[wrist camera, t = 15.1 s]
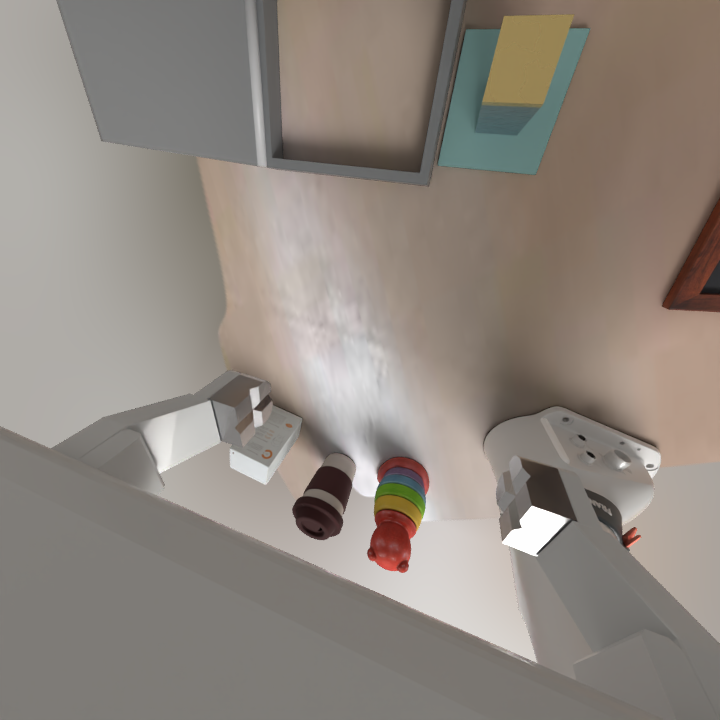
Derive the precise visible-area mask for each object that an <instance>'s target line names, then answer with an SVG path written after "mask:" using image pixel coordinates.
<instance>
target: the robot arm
mask: <svg viewBox="0 0 720 720" xmlns="http://www.w3.org/2000/svg"><path fill="white" fill-rule="evenodd" d="M270 392H271V385H270V383H269V382H268V381H265V380H262V379H259V378H256V377H253V376H250V375H247V374H243V373H240V372H237V371H234V370H229V371H226V372H225V373H224V374H222V375H221V376H219V377H218V378H216V379H215V380H214V381H213V382H211V383H209V384H208V385H207V386H205V387H204V388H203V389H201V390H200V391H198V392H197V393H195V394H194V395H192V394H187V395H183V396H180V397H176V398H173V399H169V400H165V401H162V402H158V403H154V404H151V405H147V406H143V407H139V408H135V409H132V410H128V411H124V412H121V413H117V414H113V415H110V416H106V417H103V418H101V419H100V420H98V421H96V422H95V423H93V424H91V425H89V426H88V427H86V428H85V429H83V430H81V431H79V432H78V433H76V434H75V435H73V436H71V437H69V438H68V439H66V440H64V441H63V442H61V443H59V444H58V445H56V446H54V447H53V448H48V447H46V446H44V445H41V444H39V443H37V442H35V441H32V440H30V439H28V438H25V437H23V436H21V435H19V434H17V433H14V432H12V431H10V430H7V429H5V428H3V427H1V426H0V720H720V643H719V642H717V640H716V639H715V638H713V636H711V634H710V633H709V632H707V630H706V629H705V628H704V627H703V626H701V624H700V623H699V622H697V620H696V619H695V618H694V617H693V616H692V615H691V614H690V613H689V612H688V611H687V610H686V609H685V608H684V607H683V606H682V605H681V604H680V603H679V602H678V601H677V600H676V599H675V598H674V597H673V596H672V595H671V594H670V593H669V592H668V591H667V590H666V589H665V588H664V587H663V586H662V585H661V584H660V583H659V582H658V581H657V580H656V579H655V578H654V577H653V576H652V575H651V574H650V573H649V572H648V571H647V570H646V569H645V568H644V567H643V566H642V565H641V564H640V563H639V562H638V561H637V560H636V559H635V558H634V557H633V556H632V555H631V554H630V553H629V551H630V550H629V547H630V546H631V545H632V544H634V543H635V542H636V541H638V540H639V539H640V538H641V536H640V535H637V536H635V534H636V531H637V528H635V527H634V528H632V529H631V530H629V531H628V532H627V533H626V534H624V535H622V526H623V525H624V524H626V523H628V522H629V521H631V520H632V519H634V518H635V517H637V516H638V515H639V514H640V513H641V512H642V511H644V510H645V508H646V507H647V506H648V505H649V504H650V502H651V501H652V499H653V496H654V490H655V489H654V483H653V481H652V478H653V477H654V475H655V474H656V473H657V471H658V469H659V467H660V463H661V454H660V452H659V451H658V449H657V448H656V447H654V446H652V445H650V444H647V443H645V442H643V441H640V440H638V439H636V438H633V437H631V436H629V435H626V434H624V433H622V432H619V431H617V430H614V429H612V428H610V427H607V426H605V425H603V424H600V423H598V422H596V421H593V420H591V419H589V418H586V417H584V416H582V415H579V414H577V413H575V412H572V411H570V410H568V409H565V408H563V407H558V406H556V407H551V408H548V409H546V410H544V411H542V412H539V413H537V414H535V415H530V416H523V417H518V418H513V419H510V420H507V421H505V422H503V423H501V424H499V425H498V426H496V427H495V428H494V429H492V430H491V431H490V433H489V434H488V435H487V437H486V439H485V442H484V453H485V455H486V458H487V459H488V461H489V463H490V465H491V467H492V470H493V473H494V476H495V479H496V482H497V488H496V499H497V505H498V506H499V510H500V515H501V517H500V518H499V522H500V529H501V536H502V542H503V543H504V544H507V545H509V550H510V556H511V563H512V570H513V576H514V583H515V590H516V596H517V602H518V608H519V611H520V614H521V616H522V618H523V620H524V622H525V624H526V627H527V629H528V633H529V636H530V639H531V643H532V646H533V649H534V653H535V656H536V660H537V663H535V662H533V661H531V660H529V659H526V658H524V657H522V656H520V655H517V654H515V653H513V652H511V651H508V650H506V649H504V648H501V647H499V646H497V645H495V644H492V643H490V642H488V641H486V640H483V639H481V638H479V637H477V636H474V635H472V634H470V633H468V632H465V631H463V630H460V629H458V628H456V627H454V626H451V625H449V624H447V623H445V622H442V621H440V620H438V619H436V618H434V617H431V616H429V615H427V614H424V613H422V612H420V611H418V610H415V609H413V608H411V607H408V606H406V605H404V604H402V603H400V602H397V601H395V600H393V599H391V598H388V597H386V596H384V595H381V594H379V593H377V592H375V591H372V590H370V589H368V588H366V587H363V586H361V585H359V584H357V583H354V582H352V581H350V580H347V579H345V578H343V577H341V576H338V575H336V574H334V573H332V572H329V571H327V570H325V569H322V568H320V567H318V566H316V565H314V564H311V563H309V562H307V561H304V560H302V559H300V558H298V557H295V556H293V555H291V554H289V553H286V552H284V551H282V550H280V549H277V548H275V547H273V546H271V545H268V544H266V543H264V542H261V541H259V540H257V539H255V538H252V537H250V536H248V535H245V534H243V533H241V532H239V531H236V530H234V529H232V528H230V527H227V526H225V525H223V524H221V523H218V522H216V521H214V520H212V519H209V518H207V517H204V516H202V515H200V514H198V513H195V512H193V511H191V510H189V509H187V508H184V507H182V506H180V505H178V504H175V503H173V502H171V501H168V500H166V499H164V498H162V497H159V496H157V495H158V494H159V493H160V492H161V491H162V490H163V489H164V486H165V484H164V482H163V480H162V478H161V476H160V473H161V472H163V471H165V470H167V469H169V468H171V467H173V466H175V465H177V464H179V463H181V462H183V461H185V460H187V459H189V458H190V457H193V456H195V455H197V454H198V453H201V452H202V451H204V450H206V449H208V448H210V447H212V446H214V445H216V444H218V443H220V442H221V441H223V442H226V443H229V444H232V445H235V446H238V447H241V448H243V447H244V446H245V445H246V444H247V443H248V442H249V440H250V439H251V438H252V437H253V436H254V435H255V428H257V427H259V426H262V425H264V423H265V422H266V421H267V420H268V418H269V416H270V414H271V412H272V406H273V404H272V399H271V398H270V396H269V395H268V394H269V393H270ZM565 417H567V418H566V419H563V418H565ZM634 536H635V537H634Z"/></svg>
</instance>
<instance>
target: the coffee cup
mask: <svg viewBox="0 0 720 720" xmlns="http://www.w3.org/2000/svg"><path fill="white" fill-rule="evenodd" d="M355 472H356V466H355V464H354V462H353V461H352V460H351V459H350V458H349V457H347V456H346V455H343V454H340V453H332V454H330V455H328V456H327V458H326V459H325V461H324V463H323V464H322V466H321V467H320V468H319V469H318V470H317V472H316V474H315V475H314V477H313V478H312V480H311V482H310V483H309V485H308V486H307V488H306V490H305V491H304V495H303V497H300V498H299V499H297V501H296V502H295V505H294V506H293V509H292V510H293V515H294V517H295V518H296V525H297V526H298V528H299V529H300V530H301V531H302V532H303V533H304V534H306V535H308V536H309V537H311V538H314V539H318V540H325V539H327V538H329V537H332V536H336V535H337V534H339V533H340V531H341V528H342V525H343V519H342V515H343V514H344V512H345V509H346V505H347V502H348V499H349V495H350V492H351V489H352V482H353V478H354V475H355Z"/></svg>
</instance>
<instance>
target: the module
mask: <svg viewBox="0 0 720 720" xmlns="http://www.w3.org/2000/svg"><path fill="white" fill-rule="evenodd" d="M573 17H574V14H572V15H527V16H504V18H503V22H502V26H501V30H500V34H499V38H498V42H497V45H496V49H495V53H494V57H493V61H492V65H491V69H490V73H489V77H488V81H487V85H486V89H485V93H484V97H483V101H482V105H481V109H480V113H479V118H478V122H477V126H476V130H475V133H484V134H500V135H515V136H517V135H518V133H519V132H520V131H521V130H522V129H523V128H524V126H525V125H526V124H527V123H528V122H529V121H530V119H531V118H532V117H533V116H534V115H535V113H536V112H537V111H538V110H539V109H540V108H541V106H542V105H543V104H544V101H545V98H546V95H547V92H548V89H549V87H550V84H551V81H552V78H553V75H554V72H555V69H556V66H557V63H558V60H559V58H560V55H561V52H562V49H563V46H564V43H565V40H566V37H567V34H568V31H569V28H570V26H571V23H572V20H573Z"/></svg>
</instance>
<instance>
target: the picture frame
mask: <svg viewBox="0 0 720 720" xmlns="http://www.w3.org/2000/svg"><path fill="white" fill-rule="evenodd" d="M662 307H664V308H667V309H669V310H688V311H708V312H720V199H719V200H718V202H717V204H716V206H715V208H714V210H713V212H712V214H711V215H710V217H709V219H708V221H707V223H706V225H705V227H704V228H703V230H702V232H701V234H700V236H699V238H698V240H697V242H696V243H695V245H694V247H693V249H692V251H691V253H690V255H689V256H688V258H687V260H686V262H685V264H684V266H683V268H682V270H681V271H680V273H679V275H678V277H677V279H676V281H675V283H674V284H673V286H672V288H671V290H670V292H669V294H668V296H667V298H666V299H665V301H664V303H663V305H662Z"/></svg>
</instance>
